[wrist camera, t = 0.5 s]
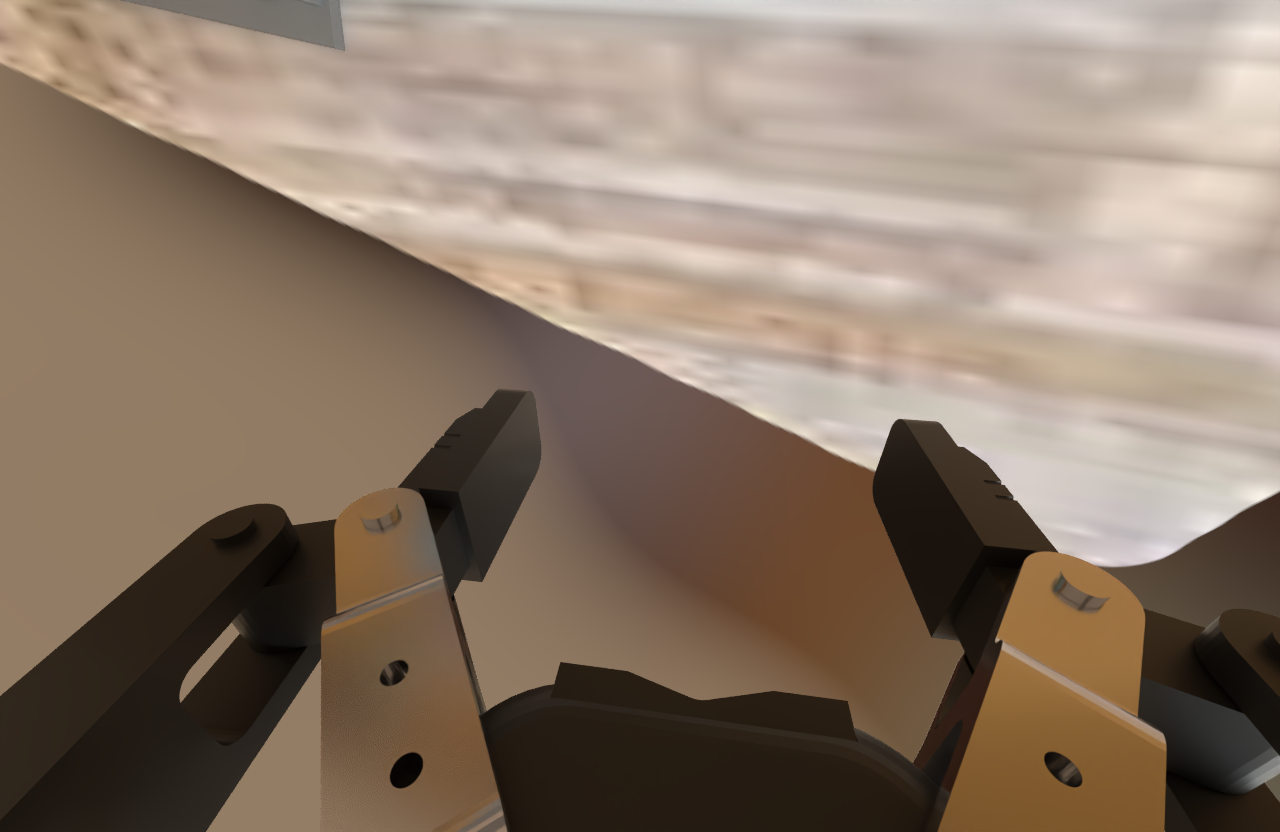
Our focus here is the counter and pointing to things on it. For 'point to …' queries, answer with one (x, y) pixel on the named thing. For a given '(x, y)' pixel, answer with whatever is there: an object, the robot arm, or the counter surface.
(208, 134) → the counter surface
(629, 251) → the counter surface
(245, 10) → the tray
